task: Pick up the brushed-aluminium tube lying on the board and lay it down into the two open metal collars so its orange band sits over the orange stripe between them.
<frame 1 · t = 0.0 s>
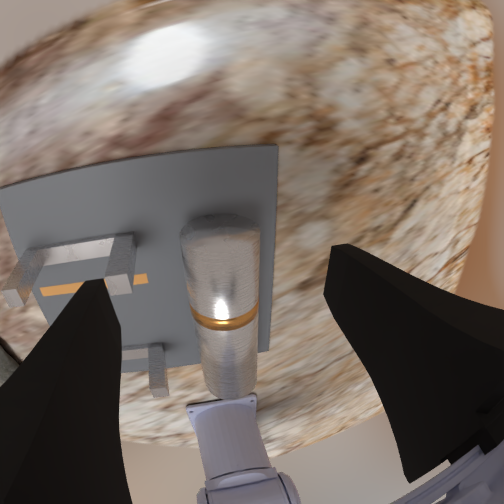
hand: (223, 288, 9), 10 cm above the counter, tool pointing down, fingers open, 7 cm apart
board: (147, 284, 20), on the counter
collar a: (118, 351, 22), resting on board
stone: (5, 373, 22), on the counter
collar b: (77, 248, 17), resting on board
tube: (220, 301, 22), point 1 cm above the counter, touching board
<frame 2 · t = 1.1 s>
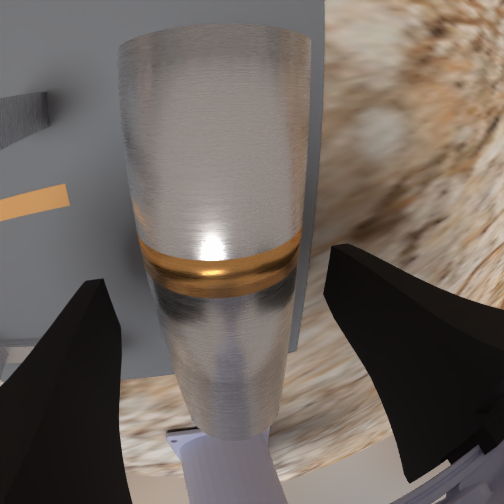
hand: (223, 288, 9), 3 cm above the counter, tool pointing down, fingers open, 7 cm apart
board: (73, 215, 9), on the counter
collar a: (41, 347, 11), resting on board
tube: (212, 251, 11), point 1 cm above the counter, touching board
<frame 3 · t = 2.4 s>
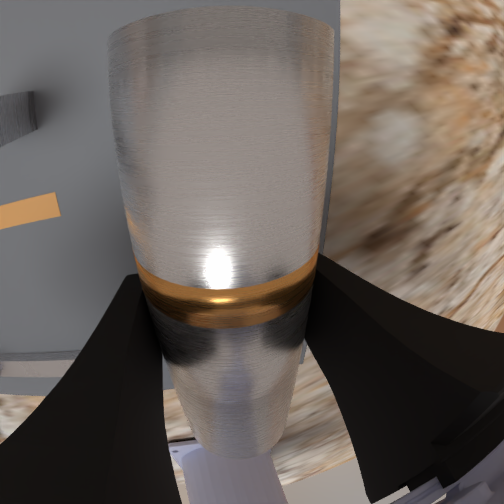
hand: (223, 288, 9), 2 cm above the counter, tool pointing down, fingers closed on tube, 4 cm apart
board: (65, 225, 9), on the counter
collar a: (36, 361, 10), resting on board
tube: (216, 265, 10), point 1 cm above the counter, touching board, gripper
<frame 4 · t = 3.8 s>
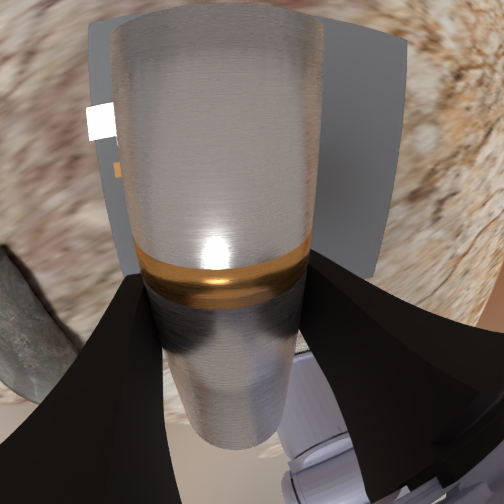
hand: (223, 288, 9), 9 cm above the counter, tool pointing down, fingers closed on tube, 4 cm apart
board: (266, 168, 17), on the counter
stone: (21, 331, 18), on the counter
collar b: (192, 101, 13), resting on board
tube: (218, 253, 10), point 7 cm above the counter, touching gripper
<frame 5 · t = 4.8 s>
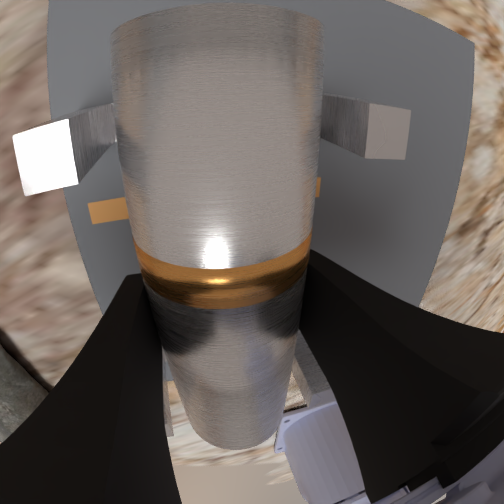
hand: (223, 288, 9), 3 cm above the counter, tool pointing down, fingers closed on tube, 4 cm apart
board: (306, 205, 12), on the counter
collar a: (219, 337, 14), resting on board
stone: (5, 385, 14), on the counter
collar b: (203, 109, 9), resting on board
tube: (218, 253, 11), point 1 cm above the counter, touching gripper
when the fingers open (3 cm above the counter, at t = 5.6 s): tube stays where it is, resting on collar a, collar b.
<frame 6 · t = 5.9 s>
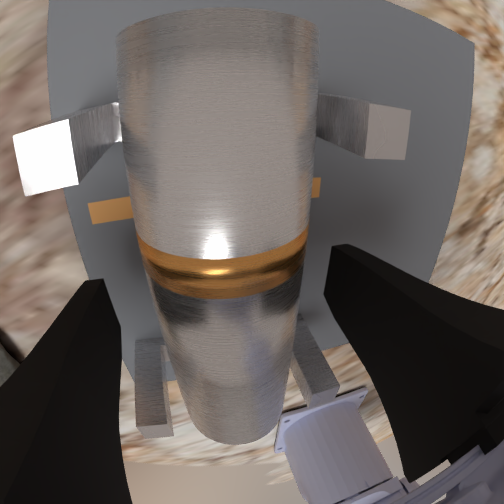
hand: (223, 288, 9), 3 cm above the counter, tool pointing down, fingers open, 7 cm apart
board: (306, 205, 12), on the counter
collar a: (219, 337, 14), resting on board
stone: (6, 385, 14), on the counter
collar b: (203, 109, 9), resting on board
tube: (217, 249, 11), point 1 cm above the counter, touching collar a, collar b
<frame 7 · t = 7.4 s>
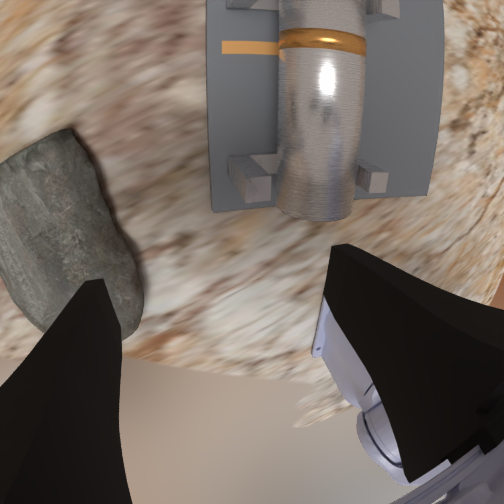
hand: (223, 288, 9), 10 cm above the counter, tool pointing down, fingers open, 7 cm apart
board: (347, 72, 16), on the counter
collar a: (291, 160, 18), resting on board
stone: (62, 249, 18), on the counter
collar b: (294, 5, 13), resting on board
tube: (300, 79, 15), point 1 cm above the counter, tilted 7°, touching collar a, collar b
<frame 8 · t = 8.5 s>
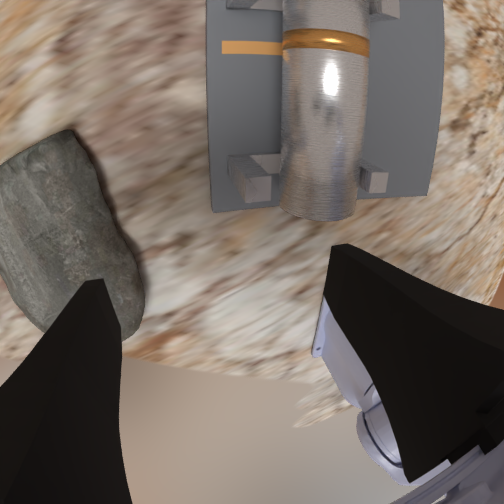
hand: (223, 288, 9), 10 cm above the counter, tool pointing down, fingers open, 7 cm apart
board: (347, 72, 16), on the counter
collar a: (291, 160, 18), resting on board
stone: (63, 250, 18), on the counter
collar b: (294, 5, 13), resting on board
tube: (300, 79, 15), point 1 cm above the counter, tilted 12°, touching collar a, collar b
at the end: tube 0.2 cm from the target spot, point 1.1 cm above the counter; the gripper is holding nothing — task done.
